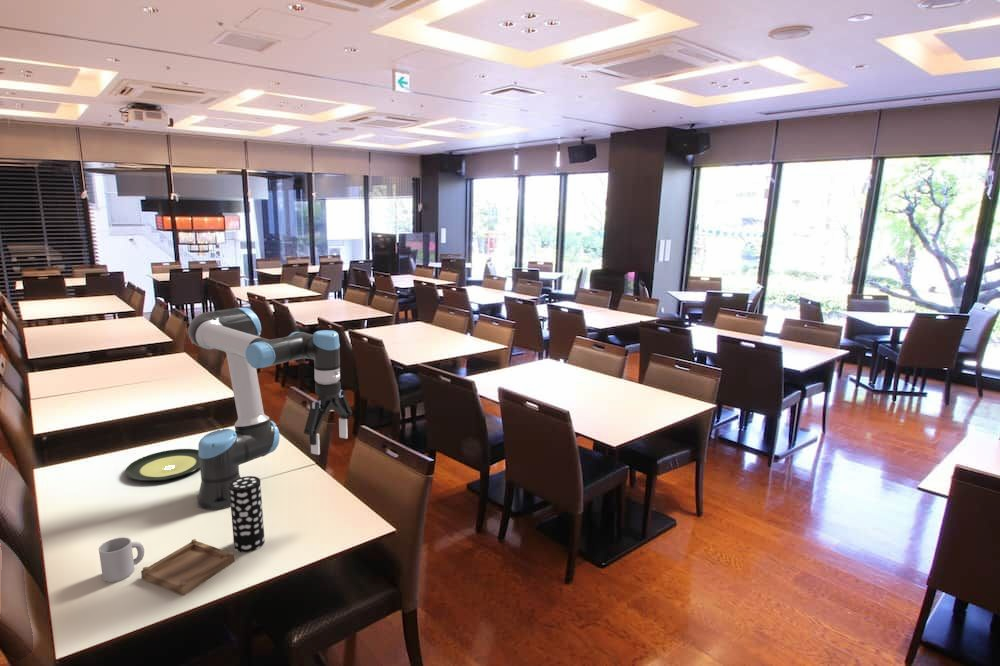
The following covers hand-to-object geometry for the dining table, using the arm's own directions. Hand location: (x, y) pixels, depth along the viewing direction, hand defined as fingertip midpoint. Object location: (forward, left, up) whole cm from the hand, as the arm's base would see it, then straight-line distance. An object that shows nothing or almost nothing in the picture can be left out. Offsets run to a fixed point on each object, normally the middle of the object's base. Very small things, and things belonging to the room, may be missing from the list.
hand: (330, 445), depth 175 cm
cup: (-33, -46, -26) cm, 62 cm away
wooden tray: (-18, -38, -26) cm, 49 cm away
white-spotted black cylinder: (-13, -22, -26) cm, 36 cm away
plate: (-81, +2, -26) cm, 85 cm away
